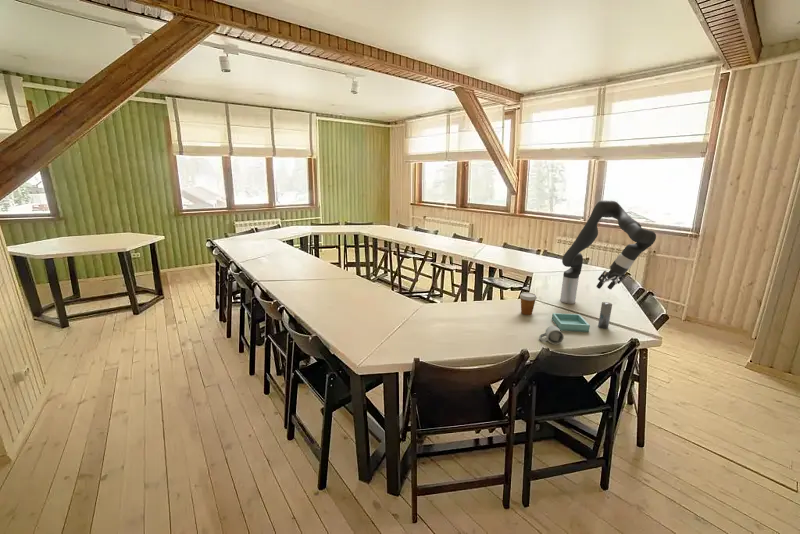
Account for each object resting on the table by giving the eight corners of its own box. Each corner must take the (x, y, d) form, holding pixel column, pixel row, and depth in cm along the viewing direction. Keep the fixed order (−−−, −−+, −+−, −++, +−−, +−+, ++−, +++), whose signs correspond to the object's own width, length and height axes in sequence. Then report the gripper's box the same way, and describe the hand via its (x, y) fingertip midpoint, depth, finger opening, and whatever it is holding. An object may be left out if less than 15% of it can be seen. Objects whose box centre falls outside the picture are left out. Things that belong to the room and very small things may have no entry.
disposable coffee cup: (524, 317, 212) (526, 298, 209) (515, 311, 221) (517, 292, 218) (538, 315, 215) (540, 296, 211) (528, 309, 223) (530, 291, 220)
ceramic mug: (558, 337, 186) (560, 324, 184) (563, 345, 179) (564, 331, 177) (537, 336, 188) (538, 323, 186) (540, 343, 180) (542, 329, 178)
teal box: (551, 319, 209) (552, 313, 208) (578, 320, 207) (579, 314, 206) (559, 330, 195) (560, 323, 193) (588, 332, 193) (589, 325, 192)
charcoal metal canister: (596, 325, 202) (600, 301, 198) (605, 325, 201) (609, 302, 198) (600, 328, 197) (604, 305, 193) (609, 329, 196) (614, 305, 193)
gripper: (626, 260, 187) (607, 284, 195) (607, 258, 181) (589, 282, 190) (637, 269, 181) (617, 293, 190) (618, 267, 175) (598, 292, 184)
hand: (603, 288), depth 190 cm, fingers open, 8 cm apart
